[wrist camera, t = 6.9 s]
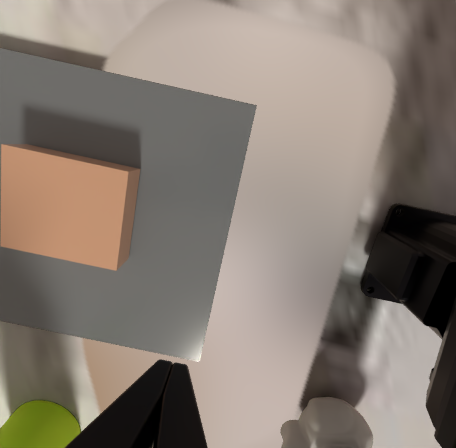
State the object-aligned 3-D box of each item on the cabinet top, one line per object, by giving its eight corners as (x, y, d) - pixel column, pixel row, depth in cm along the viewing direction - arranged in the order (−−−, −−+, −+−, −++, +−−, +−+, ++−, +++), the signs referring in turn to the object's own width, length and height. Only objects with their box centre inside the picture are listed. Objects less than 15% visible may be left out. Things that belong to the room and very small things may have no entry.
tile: (128, 171, 16) (1, 144, 16) (116, 270, 18) (0, 246, 18) (141, 168, 18) (28, 144, 18) (129, 257, 20) (25, 235, 20)
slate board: (255, 107, 18) (256, 105, 17) (200, 354, 22) (199, 361, 22) (-8, 48, 17) (-20, 43, 17) (-8, 311, 22) (-17, 317, 21)
